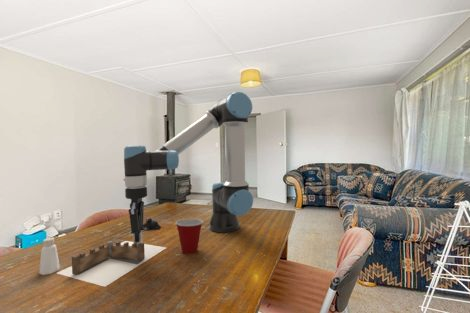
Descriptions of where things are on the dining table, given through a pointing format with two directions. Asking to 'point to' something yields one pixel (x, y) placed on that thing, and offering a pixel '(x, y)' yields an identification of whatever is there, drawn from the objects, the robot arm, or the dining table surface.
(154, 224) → the stuffed animal
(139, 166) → the robot arm
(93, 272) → the card
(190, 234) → the plastic cup
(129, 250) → the wooden notched wall
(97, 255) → the fence fixed
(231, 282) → the dining table surface
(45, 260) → the salt shaker
